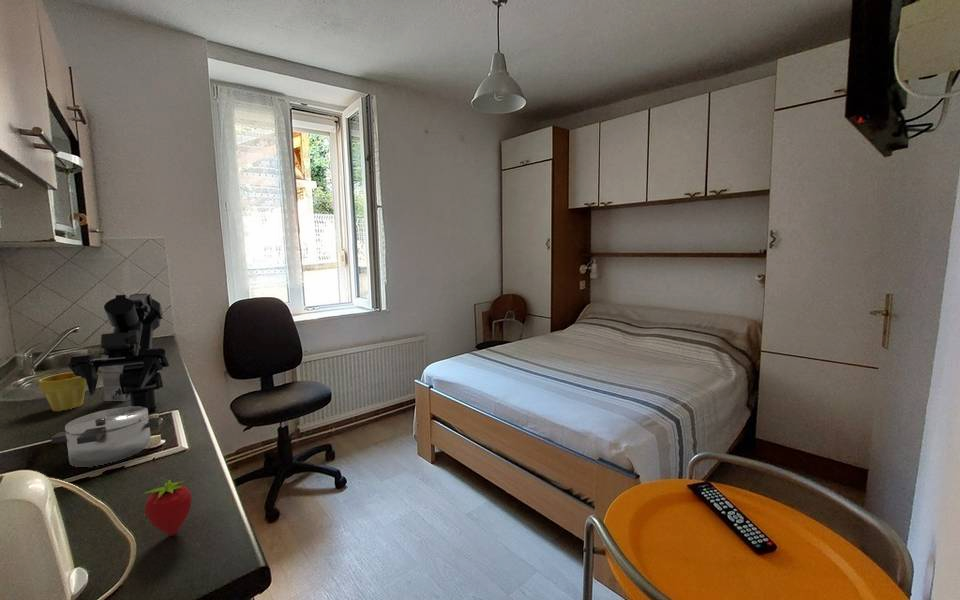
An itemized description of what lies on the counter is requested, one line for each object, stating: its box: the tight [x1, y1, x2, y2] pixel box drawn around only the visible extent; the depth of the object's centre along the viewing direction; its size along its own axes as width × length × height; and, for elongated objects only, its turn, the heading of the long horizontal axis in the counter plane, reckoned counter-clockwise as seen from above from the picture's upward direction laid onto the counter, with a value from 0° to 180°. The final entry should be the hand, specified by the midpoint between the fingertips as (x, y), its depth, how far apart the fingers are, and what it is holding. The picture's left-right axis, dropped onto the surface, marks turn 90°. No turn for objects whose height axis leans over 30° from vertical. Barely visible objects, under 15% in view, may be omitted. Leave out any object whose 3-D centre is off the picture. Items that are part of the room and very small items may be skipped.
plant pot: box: [38, 371, 88, 412], centre depth 123 cm, size 10×10×10 cm
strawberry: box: [143, 477, 193, 537], centre depth 64 cm, size 6×8×10 cm
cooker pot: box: [50, 415, 163, 468], centre depth 93 cm, size 14×19×7 cm
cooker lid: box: [64, 405, 149, 444], centre depth 91 cm, size 19×14×2 cm
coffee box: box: [99, 351, 131, 402], centre depth 131 cm, size 9×6×16 cm
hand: (116, 391), depth 98 cm, fingers open, 9 cm apart
